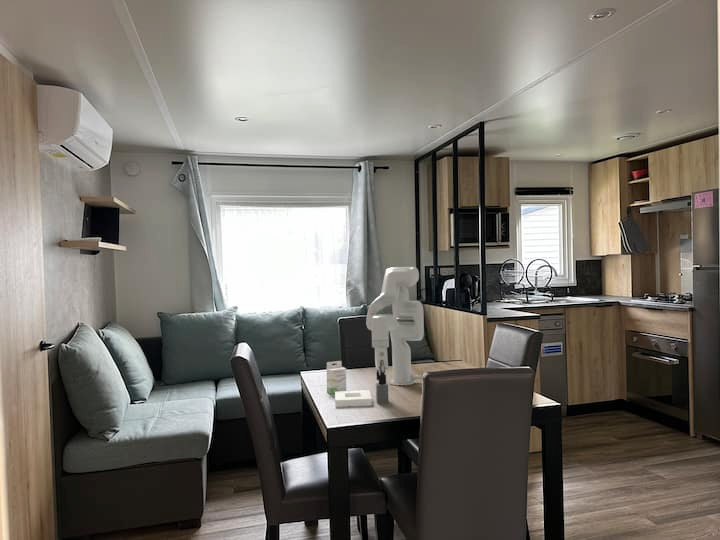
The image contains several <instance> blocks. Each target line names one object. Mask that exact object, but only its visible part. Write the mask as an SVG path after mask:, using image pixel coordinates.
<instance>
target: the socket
mask: <svg viewBox="0 0 720 540" xmlns="http://www.w3.org/2000/svg"><path fill="white" fill-rule="evenodd" d="M334 401H335V402H334V403H335V408H344V407H346V408H348V406H351V407H367V406H371V405H372V406H373V397H372V394H371V392H370V389H362V390H360V389H359V390H346V391H336V392H335V394H334ZM372 406H371V407H372Z"/></svg>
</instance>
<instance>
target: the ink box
mask: <svg viewBox="0 0 720 540" xmlns="http://www.w3.org/2000/svg"><path fill="white" fill-rule="evenodd" d="M342 363H343V362H342V360H336V361H327V362H326V393H327V394H330V395H333V394H334V395H335V392H336V391H347V368H346V367H344V366H342ZM333 364H334V365H333Z"/></svg>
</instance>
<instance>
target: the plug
mask: <svg viewBox="0 0 720 540" xmlns="http://www.w3.org/2000/svg"><path fill="white" fill-rule="evenodd" d="M375 398H376V399H375V400H376V403H377V405H378V404H379V403H380V404H379V405H382V403H384V404H389V403H390V402H389V384H388V382H386V384H379V382H376V383H375Z"/></svg>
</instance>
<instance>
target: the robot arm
mask: <svg viewBox="0 0 720 540" xmlns="http://www.w3.org/2000/svg"><path fill="white" fill-rule="evenodd" d="M419 279H420V273H419V270H418V268H417V267H415V266H395V267H389V268H387V269H386V270H385V273H384V276H383V281H382V284H381V285H382V286H381V290H380V291H381V292H380V295H379V296H378V297H376V298H375V299H374V301H372V302H371V304H370V305H369V307H368V310H367V314H366V319H365V320H366V322H365V324H366V327H367V329H368V330H369V331H371V348H374V362H375V368H376V381H378V383H379V384H386V383H387V375H386V370H387V371H388V370H389V360H388V357H389V356H388V348H389V347H390V340H391V356H392V379H391V380H390V381H389V383H390V385H392V386H393V385H394V386H399V385H401V387H402V386H403V385H404V386H411V385H415V383H416V382H415V380H421V378H422V377H421V375H417V374H415V375H413V373H412V361H411V360H412V357H411V356H412V354H411V352H412V351H411V348H410V345H409V344H408V343H407V341H410V342H413V341H415V342H416V341H419V342H420V341H422V340H423V339H424V335H425V330H424V329H425V328H424V327H425V325H424V324H425V322H424V321H425V320H424V319H425V317H424V314H425V313H424V306H423V303H422V302H421V301H419V300H410V295H409V294H410V291H409V289H408V288H410V287H413V286H414V285H416V284H417V282H418V281H419ZM390 305H392V314H391V313H389V314H388V313H387V314H383V313H380V314H379V313H378V312H379V311H380V310H382V309H384V308H385V307H389V306H390ZM377 313H378V314H377ZM398 320H413V321H398ZM389 335H390V337H389Z"/></svg>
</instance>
